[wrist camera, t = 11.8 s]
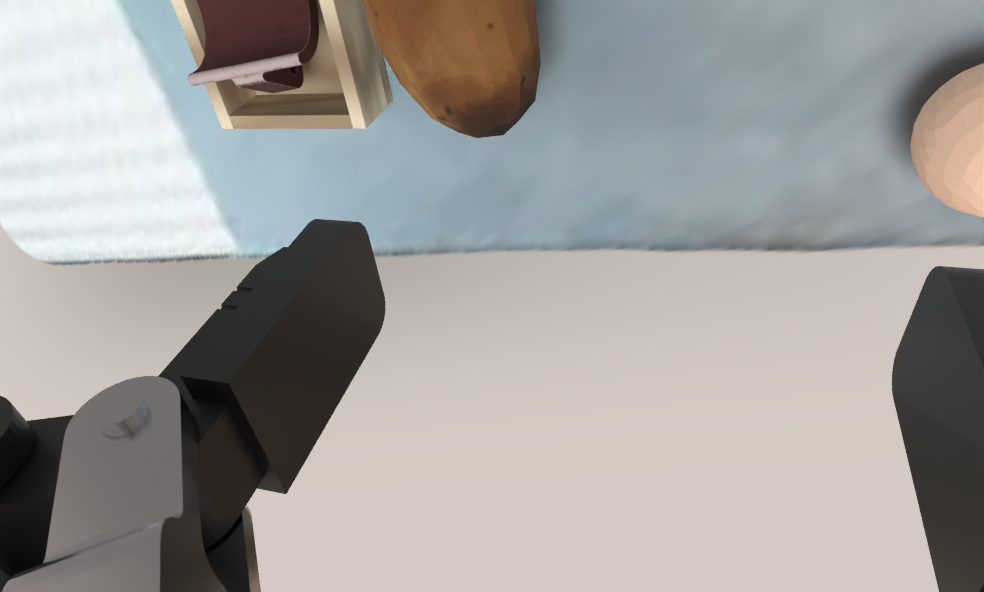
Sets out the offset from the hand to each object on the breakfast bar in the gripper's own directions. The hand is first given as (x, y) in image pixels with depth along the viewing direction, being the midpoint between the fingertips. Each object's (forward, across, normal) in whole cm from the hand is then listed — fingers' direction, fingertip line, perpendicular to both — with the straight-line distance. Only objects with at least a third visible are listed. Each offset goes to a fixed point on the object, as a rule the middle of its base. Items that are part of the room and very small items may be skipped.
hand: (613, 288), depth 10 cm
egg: (+28, -14, +9) cm, 32 cm away
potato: (+28, +11, +3) cm, 30 cm away
